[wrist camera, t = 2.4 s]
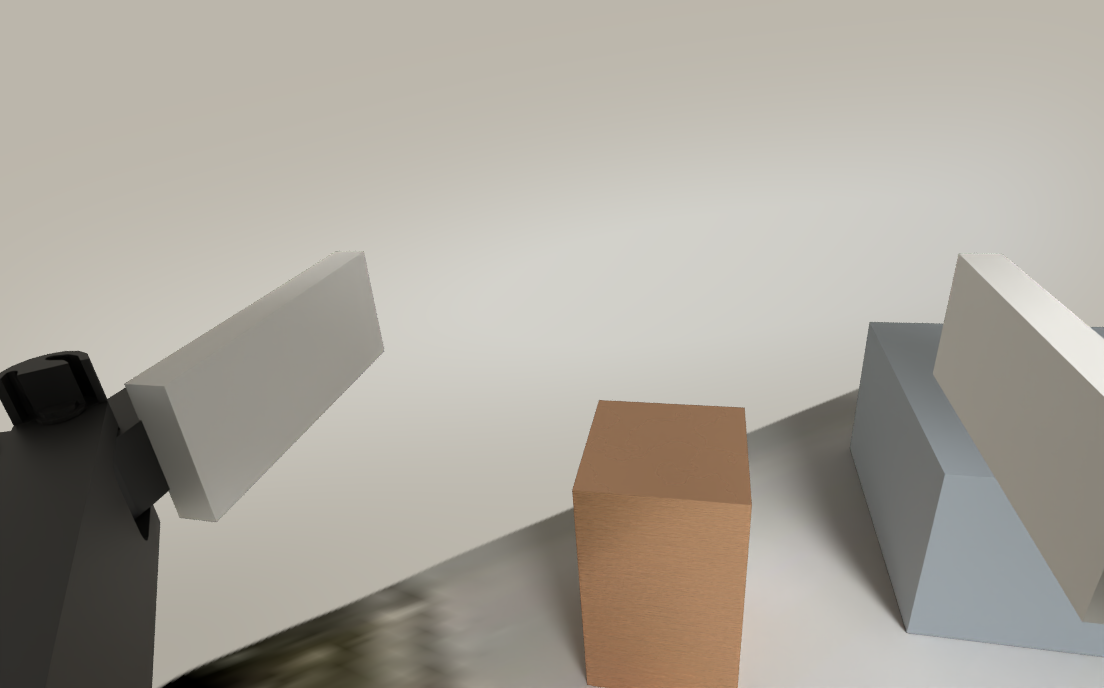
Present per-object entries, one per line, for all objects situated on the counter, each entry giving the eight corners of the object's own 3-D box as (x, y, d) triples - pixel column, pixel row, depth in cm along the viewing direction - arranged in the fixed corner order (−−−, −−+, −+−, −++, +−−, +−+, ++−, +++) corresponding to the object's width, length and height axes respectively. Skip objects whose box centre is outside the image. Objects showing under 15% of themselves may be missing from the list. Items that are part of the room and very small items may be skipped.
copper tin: (732, 590, 36) (744, 407, 31) (735, 707, 30) (751, 505, 25) (607, 576, 38) (599, 400, 32) (587, 685, 32) (572, 489, 26)
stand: (1109, 464, 43) (1160, 328, 39) (1296, 680, 29) (1410, 506, 25) (849, 447, 47) (869, 321, 42) (906, 632, 33) (944, 474, 28)
